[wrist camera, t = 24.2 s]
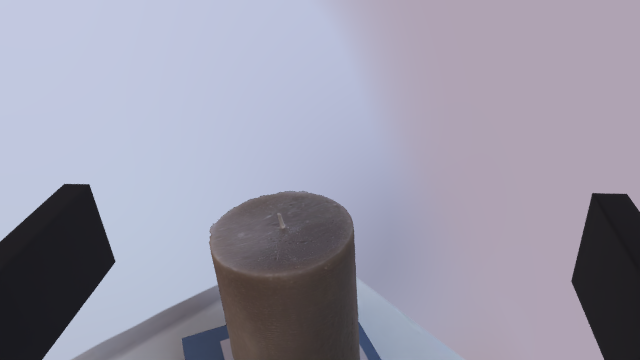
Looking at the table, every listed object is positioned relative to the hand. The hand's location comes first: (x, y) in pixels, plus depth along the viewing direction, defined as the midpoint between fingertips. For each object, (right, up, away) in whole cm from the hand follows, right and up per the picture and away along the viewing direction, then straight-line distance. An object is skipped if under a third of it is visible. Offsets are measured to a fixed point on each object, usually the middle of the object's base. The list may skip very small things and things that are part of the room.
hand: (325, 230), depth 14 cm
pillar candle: (-2, -14, +27) cm, 30 cm away
